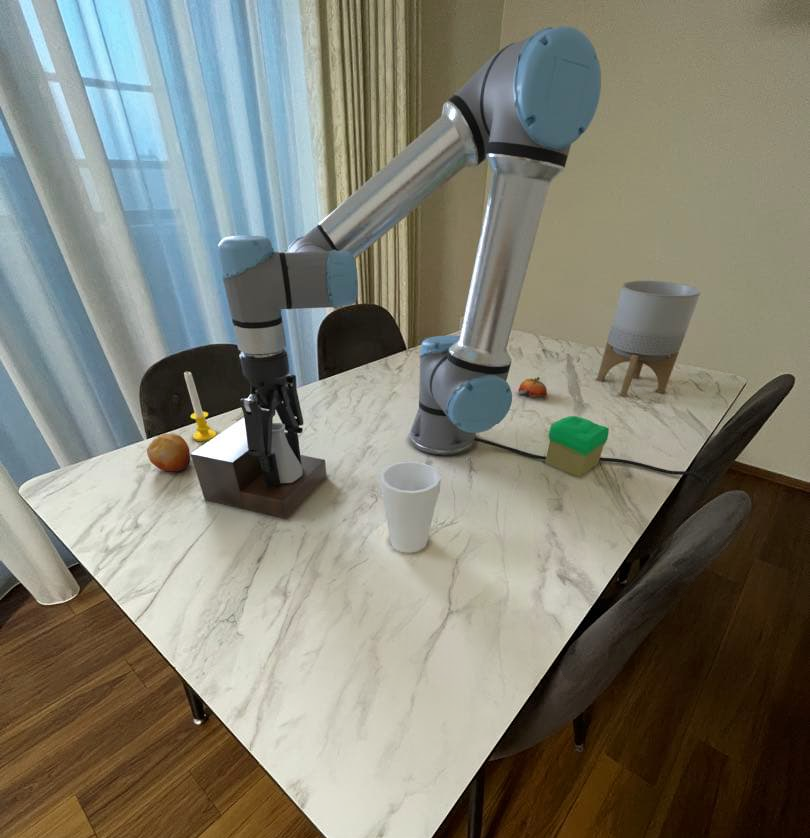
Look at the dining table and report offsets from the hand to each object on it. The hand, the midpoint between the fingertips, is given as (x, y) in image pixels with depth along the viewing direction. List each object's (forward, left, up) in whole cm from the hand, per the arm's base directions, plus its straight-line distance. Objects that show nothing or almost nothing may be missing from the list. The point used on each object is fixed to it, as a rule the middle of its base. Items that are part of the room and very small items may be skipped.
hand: (284, 473), depth 90 cm
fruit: (+27, 0, -4) cm, 28 cm away
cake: (-52, -32, -4) cm, 61 cm away
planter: (-65, -85, -4) cm, 107 cm away
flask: (0, 0, 0) cm, 0 cm away
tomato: (-39, -67, -4) cm, 77 cm away
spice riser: (+4, 0, -4) cm, 6 cm away
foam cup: (-28, +6, -4) cm, 29 cm away
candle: (+30, -14, -4) cm, 34 cm away
